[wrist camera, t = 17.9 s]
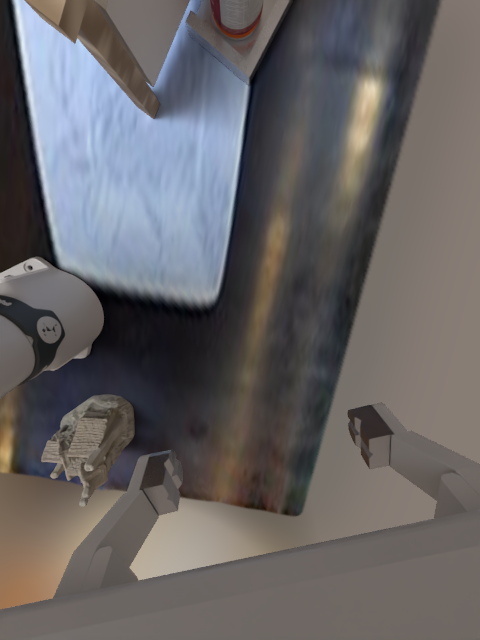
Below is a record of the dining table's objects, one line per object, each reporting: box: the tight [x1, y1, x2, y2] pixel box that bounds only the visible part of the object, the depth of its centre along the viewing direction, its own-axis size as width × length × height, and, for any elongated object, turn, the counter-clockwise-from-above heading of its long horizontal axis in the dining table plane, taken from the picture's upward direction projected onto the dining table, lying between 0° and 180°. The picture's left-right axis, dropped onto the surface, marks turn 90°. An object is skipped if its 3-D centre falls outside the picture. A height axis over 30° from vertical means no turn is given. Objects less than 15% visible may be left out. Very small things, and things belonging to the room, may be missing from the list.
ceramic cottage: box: [41, 395, 135, 506], centre depth 47 cm, size 16×16×15 cm
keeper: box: [186, 0, 293, 86], centre depth 29 cm, size 10×9×2 cm
